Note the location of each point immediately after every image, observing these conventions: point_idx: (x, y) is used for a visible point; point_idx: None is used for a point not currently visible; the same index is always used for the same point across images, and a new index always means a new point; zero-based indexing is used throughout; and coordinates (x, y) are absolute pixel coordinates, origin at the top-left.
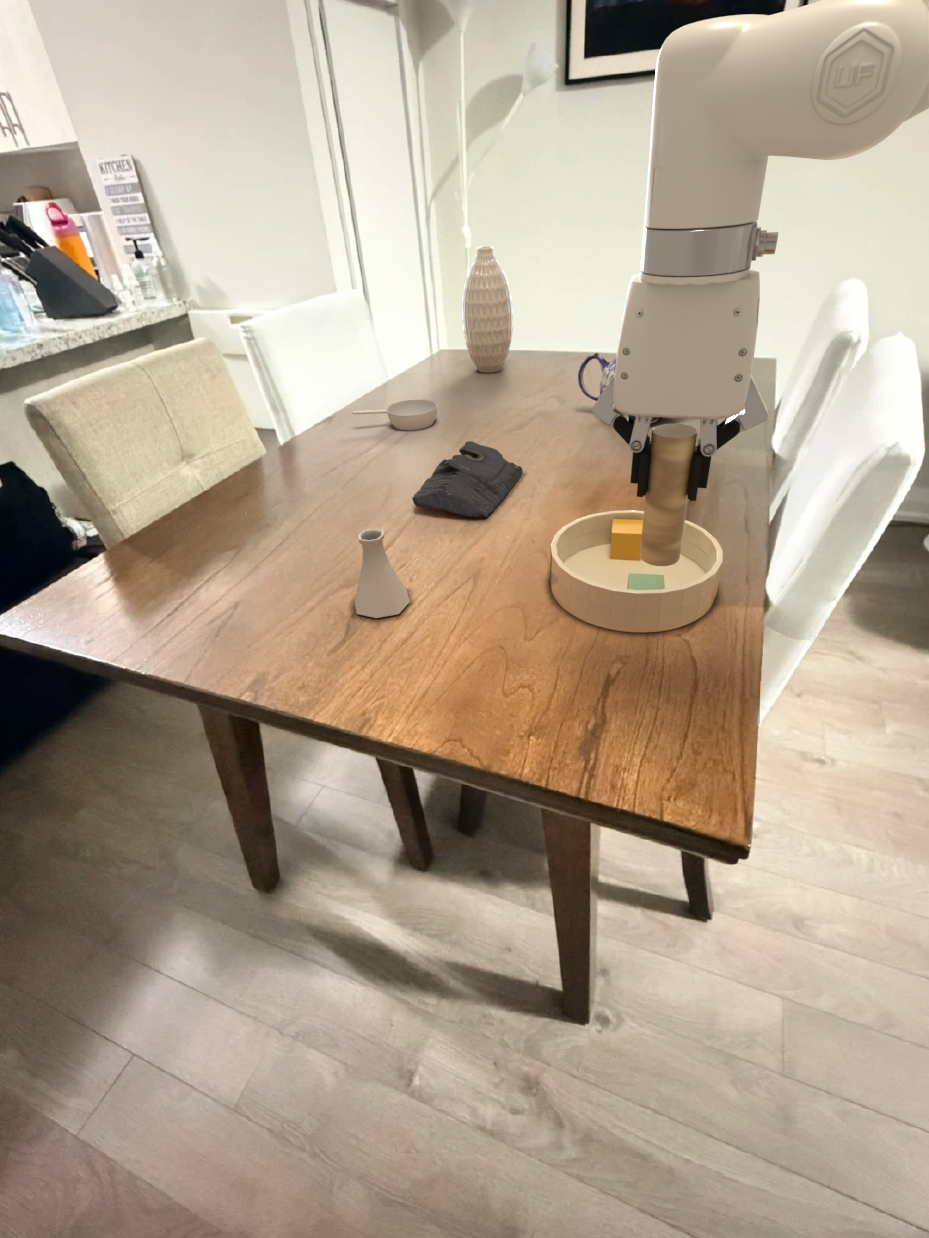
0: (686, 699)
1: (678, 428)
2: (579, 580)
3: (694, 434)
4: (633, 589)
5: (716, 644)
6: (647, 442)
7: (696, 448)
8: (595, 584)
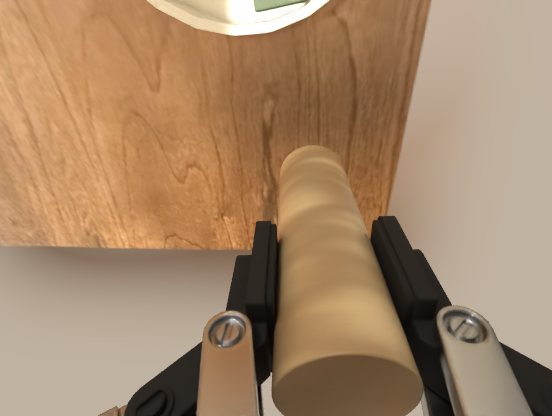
0: (345, 135)
1: (359, 386)
2: (173, 16)
3: (410, 411)
4: (261, 2)
5: (383, 17)
6: (266, 375)
7: (409, 318)
8: (202, 26)
